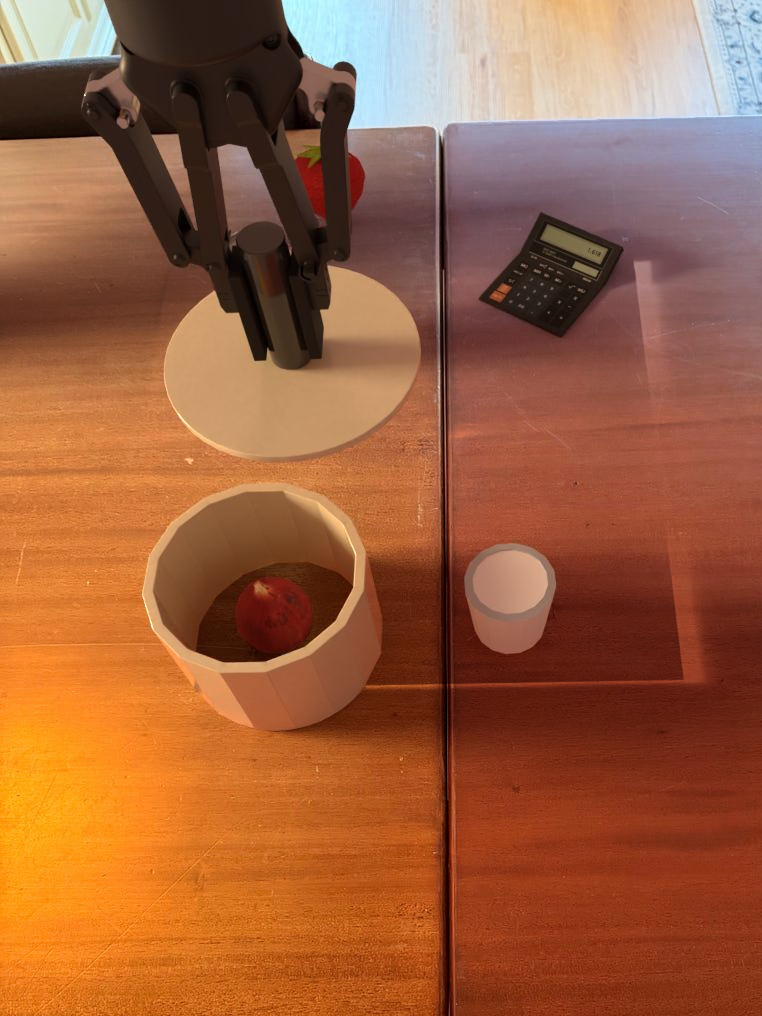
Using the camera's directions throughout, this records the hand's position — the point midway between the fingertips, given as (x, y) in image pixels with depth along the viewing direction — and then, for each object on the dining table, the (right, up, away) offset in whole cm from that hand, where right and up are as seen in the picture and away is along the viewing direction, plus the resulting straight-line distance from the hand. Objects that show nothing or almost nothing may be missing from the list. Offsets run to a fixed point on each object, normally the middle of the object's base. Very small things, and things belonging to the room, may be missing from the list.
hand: (289, 343), depth 59 cm
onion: (-4, -19, +15) cm, 24 cm away
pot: (-3, -19, +16) cm, 25 cm away
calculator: (+19, +16, +33) cm, 42 cm away
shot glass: (+14, -18, +16) cm, 28 cm away
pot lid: (0, -1, +1) cm, 2 cm away
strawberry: (-3, +25, +38) cm, 46 cm away
